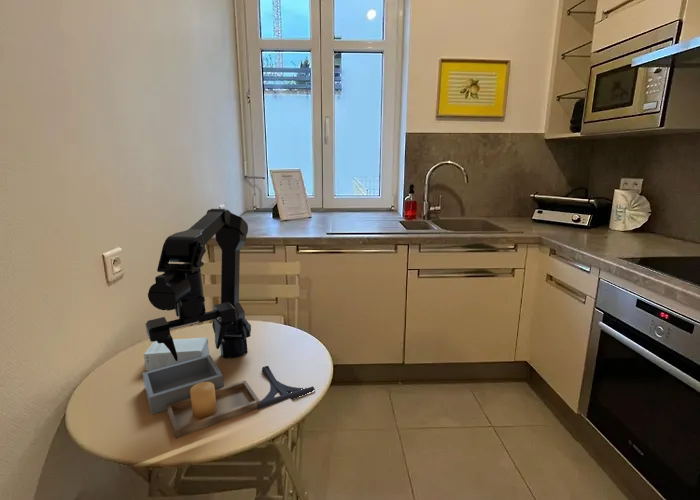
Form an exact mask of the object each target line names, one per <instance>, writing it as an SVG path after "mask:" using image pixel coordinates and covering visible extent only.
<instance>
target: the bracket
mask: <svg viewBox="0 0 700 500" xmlns="http://www.w3.org/2000/svg"><path fill="white" fill-rule="evenodd" d="M261 372H262V373H264V374H263V375H264V376H265V377H266V378H267V380H269V383H270V388H269V392H268V393H267V394H266V395H265V396H264V397H263V399H261V400H260V404H259V405H258V409H257V410H261V409H263V408H264V409H265V408H267V407H270V406H272V405H274V404H278V403H280V402H283V401H286V400H291V399H293V400H295V399H294V398H296V399H298V398H297V397H299V396H302V395H305V394H307V393H309V392H312V391H313V390H315V389H316V388H315V387H314V386H309V387H296V386H295V387H294V386H290V385H286V384H284V383H282V382H280V381H278V380H277V379H276V378H275V377H276V376H275V375H274V374H273V372H272V370H271V369H270V366H268V365H265V366H262V368H261ZM303 388H305V389H303ZM301 389H302V390H301ZM315 391H316V390H315ZM291 392H292V393H291ZM277 394H280V395H279V396H276V395H277ZM305 396H306V395H305ZM302 397H303V396H302ZM299 398H300V397H299Z"/></svg>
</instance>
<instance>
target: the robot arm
mask: <svg viewBox="0 0 700 500" xmlns="http://www.w3.org/2000/svg"><path fill="white" fill-rule="evenodd" d="M248 232H249V225H248V223H247V222H246V221H245V219H244V218H243V217H241V216H239V215H237V214H235V213H233V212H231V211H230V209H226V208H210V209H208V210H207V211H206V214H205V215H203V216H202V217H201V218H200V219H199V220H198V221H196V222H195V223H194V224H193V225H192V226H191V227H190V228H188V229H185V230H182V231H179V232H175V233H173V234H171V235H169V236H167V238H166V239H165V240H164V243H163V245H162V250H161V252H160V258H159V261H158V265H157V269H156V271H157V273H162V274H159V275H157V276H155V278H154V281H155V283H154V284H152V285H150V287H149V288H148V293H147V298H148V300H149V303H150V304H151V305H152V306H153V307H154V308H156V309H158V310H160V311H167V312H169V311H173V310H174V312H175V315H176V317H178V318H177V319H173V320H169V321H167V319H166V317H165V316H161V317H158V318H154V319H149V320H147V321H146V323H145V329H146V330H145V332H146V333H147V336H148V339H149V341H150V342H152V343H153V342H155V341H157V343H159V344H160V343H164V344H165V346H166V347H167V348H168V349H169V350H170V352H171V354H172V355H173V357H174V359H175V360H176V361H178V356H177V353H176V349H175V345H174V342H173V336H172V334H171V331H172V330H173V331H174V330H177V329H181V328H184V327H189V326H192V325H197V324H200V323H204V322H208V321H209V322H210V321H212V329H213V333H214V342H215V343H214V344H215V348H216V350H219V349H220V355H221V357H222V358H223V359H236V358H241V357H242V356H244V355H245V354H247V353H248V341H247V338H250V337H251V332H252V325H251V323H250V322H249V321H248V320H247V319H246V312H245V310H244V308H243V307H242V305H241V303H240V262H241V261H240V259H241V258H240V257H241V256H240V255H241V254H240V253H241V250H242V248H243V246H244V244H245V243H246V242H247V235H248ZM214 236H215V242H216V243H217V245H218V247H219V248H220V250H221V269H220V270H221V273H220V274H221V276H220V282H221V284H220V303H218V304H217V303H216V304H214V305H213V310H211V311H207V312H206V303H205V302H206V299H205V294H204V287H203V286H204V285H203V279H202V271H201V270H202V269H201V268H202V267H203V266H204V265H205V263H204V262H203V261H202V259H203V257H204V255H205V254H206V251H207V250H206V244H207V243H209V241H210V240H211V239H212V238H213V237H214Z"/></svg>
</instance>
